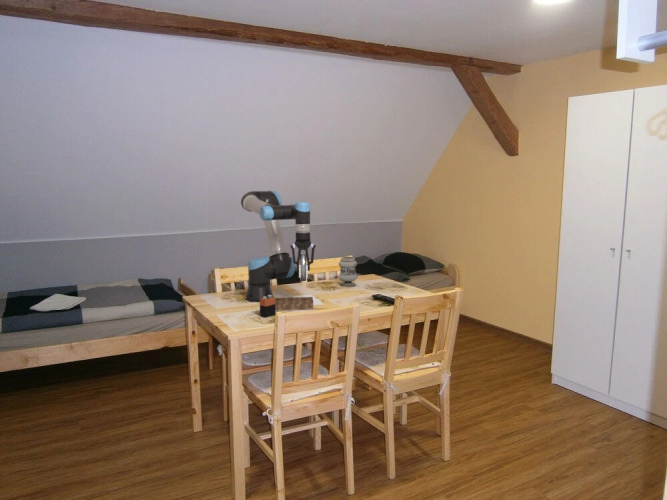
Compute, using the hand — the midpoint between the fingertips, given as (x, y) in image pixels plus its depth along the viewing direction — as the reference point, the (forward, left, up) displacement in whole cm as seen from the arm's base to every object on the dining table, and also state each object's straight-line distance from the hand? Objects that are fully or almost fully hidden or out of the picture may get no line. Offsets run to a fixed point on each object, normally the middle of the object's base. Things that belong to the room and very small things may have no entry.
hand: (303, 276), depth 257 cm
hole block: (-7, 0, -16) cm, 18 cm away
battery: (-18, -14, -17) cm, 28 cm away
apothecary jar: (+30, +53, -17) cm, 63 cm away
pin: (0, 0, -2) cm, 2 cm away
